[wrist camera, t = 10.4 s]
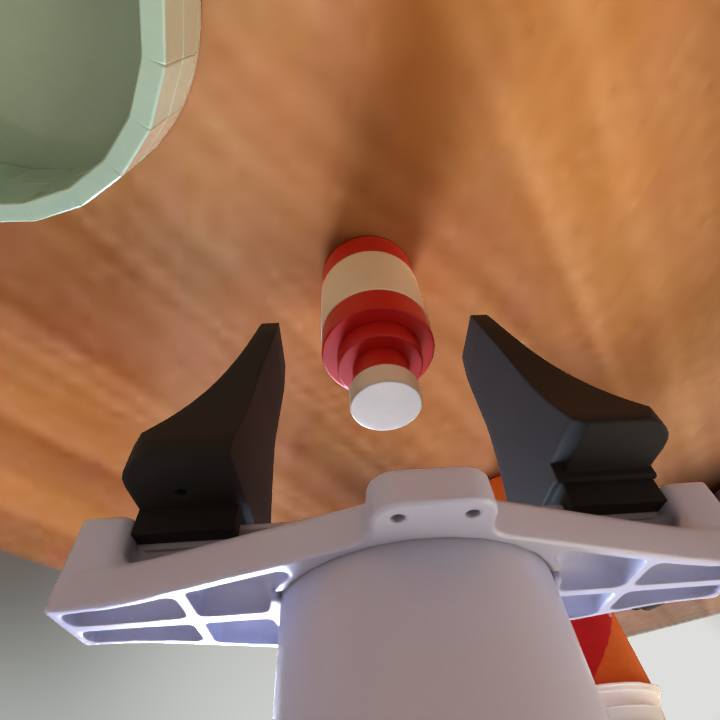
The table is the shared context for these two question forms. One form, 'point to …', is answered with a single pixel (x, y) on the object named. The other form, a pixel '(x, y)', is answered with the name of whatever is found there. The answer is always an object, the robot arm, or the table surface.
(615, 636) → the paper cup
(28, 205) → the pan
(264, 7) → the table surface
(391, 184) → the table surface
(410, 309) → the sauce bottle
